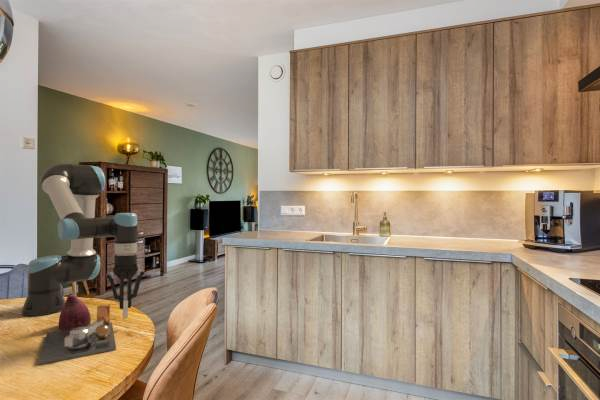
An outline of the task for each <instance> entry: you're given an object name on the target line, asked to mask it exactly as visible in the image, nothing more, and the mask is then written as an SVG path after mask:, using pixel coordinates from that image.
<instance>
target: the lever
mask: <svg viewBox="0 0 600 400" xmlns="http://www.w3.org/2000/svg"><path fill="white" fill-rule="evenodd" d="M96 308H97V309H96V320H95V321H93V322H92V323H90V325H88V326H87V327H78V328H74V329H72V330H70V335H69V336H67V337H65V346H74V345H78V344H83V343H86V342H88V341H89V335H90V334H92V333H93V332H95V329H96V328H97V327H98V326H100V325H102V324H105V325H108V326H109V325H110V323H111V322H110V319H111V318H110V317H111V314H110V313H111V305H110V304H102V305H98V306H97V307H96Z"/></svg>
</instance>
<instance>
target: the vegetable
mask: <svg viewBox="0 0 600 400" xmlns="http://www.w3.org/2000/svg"><path fill="white" fill-rule="evenodd" d="M65 300H66V301H65V304H64V307H63V309H62V311H60V314H59V318H58V326H57V327H58V330H59V331H61V330H68V329H74V328H78V327H86V326H88V325H90V324H92V323H91V320H92V317H91V313H90V311H89V309H88V306H87V305H86V304H85V302H83V301H82V300H81V299H79V297H78V296H77V295H75V294H74V293H72V292H69V294H67V297H66V299H65Z"/></svg>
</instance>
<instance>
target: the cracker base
mask: <svg viewBox="0 0 600 400" xmlns="http://www.w3.org/2000/svg"><path fill="white" fill-rule="evenodd" d="M86 327H87V326H86ZM70 330H72V329H68V330H57V331H49V332H46V336H45V338H44V342H43V345H42V348H41V351H40V354H39V357H38V361H37V365H38V366H40V365H41V366H42V365H46V364H51V363H55V362H62V361H65V360H70V359H72V360H73V359H77V358H82V357H85V356H87V357H88V356H92V355H96V354H102V353H108V352H111V351H116V350H117V344H116V339H115V334H114V328H113V322H110V325H109V326H108V325H105V324H102V325H100V326H98V327H97V328H96V329H95V332H93V333H92V334H90V335H89V341H88V342H86V343H83V344H78V345H74V346H65V337H67V336H69V335H70Z"/></svg>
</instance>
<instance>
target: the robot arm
mask: <svg viewBox="0 0 600 400" xmlns="http://www.w3.org/2000/svg"><path fill="white" fill-rule="evenodd" d="M39 181H40V186H41V189H42V190H43V192H44V193H46V194H47V195H48V197H49V198H50V201H51V202H52V205H53V207H54V209H55V211H56V213H57V215H58V217H59V219H60V220H59V221H58V223H57V235H58V237H59V238H60V240H65V241H66V240H70V242H71V243H70V249H69V250H68V251H67V252H66V257H62V255H60V254H55V255H54V254H53V255H46V256H41V257H38V258H34V259H32V260H30V262H28V265H27V296H26V299H25V301H24V303H23V306H22V309H21V312H22V313H21V315H22V316H25V317H39V316H47V315H51V314H55V313H59V312H61V311H62V309H63V307H64V304H65V302H66V301H65V300H66V299H65V298H64V295H63V293H62V285H65V284H70V283H71V284H72V283H76V282H86V281H88V280H89V281H90V280H94V279H95V278H97V276H99V273H100V270H101V266H102V265H101V262H102V261H101V257H100V255H99V254H97V251H96V250H95V249H94V239H97V238H98V239H99V238H111V237H112V238H113V237H114V254H115V255H114V264H113V265H114V267H113V268H112V271H110V272H109V273H106V276H105V277H106V278H107V280H108V281H109V283H110V287H111V288H110V289H111V291H112V295H113V298H114V300H115V301H117V300H118V301H119V306H118V307H119V309H120V310H122V318H123V319H127V318H129V309H131V307H132V299H134V298H136V297H137V295H138V292H139V288H140V285H141V281H142V277H143V276H144V275H145V271H144V270H141V269H139V266H138V257H137V256H138V255H137V252H138V224H139V223H138V215H137V214H136V213H134V212H120V213H119V212H118V213H116V214H115V215H114V216H109V217H95V216H96V215H95V214H96V213H95V212H96V199H97V198H98V197H100V194H101V193H100V192H103V191H104V190H105V187H106V176H105V173H104V171H103V170H102V168H101V167H99V166H97V165H96V166H94V165H90V164H89V165H87V164H72V163H71V164H70V163H57V164H54V165H51V166H49V167H48V168H47V169H45V170H44V172H43V173H42V175H41V176H40V180H39ZM135 275H137V276H136V279H135V282H134V283H135V284H134V287H133V291H132V280H133V277H134V276H135ZM115 276H116V278H118V279H119V295H118V293H117V288H116V284H115V281H114V278H115ZM125 280H126V281H127V283H126V284H127V285H126V287H127V288H126V293H127V294H126V297H127V298H124V297H125V296H124V295H125V291H124V290H125Z"/></svg>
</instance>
